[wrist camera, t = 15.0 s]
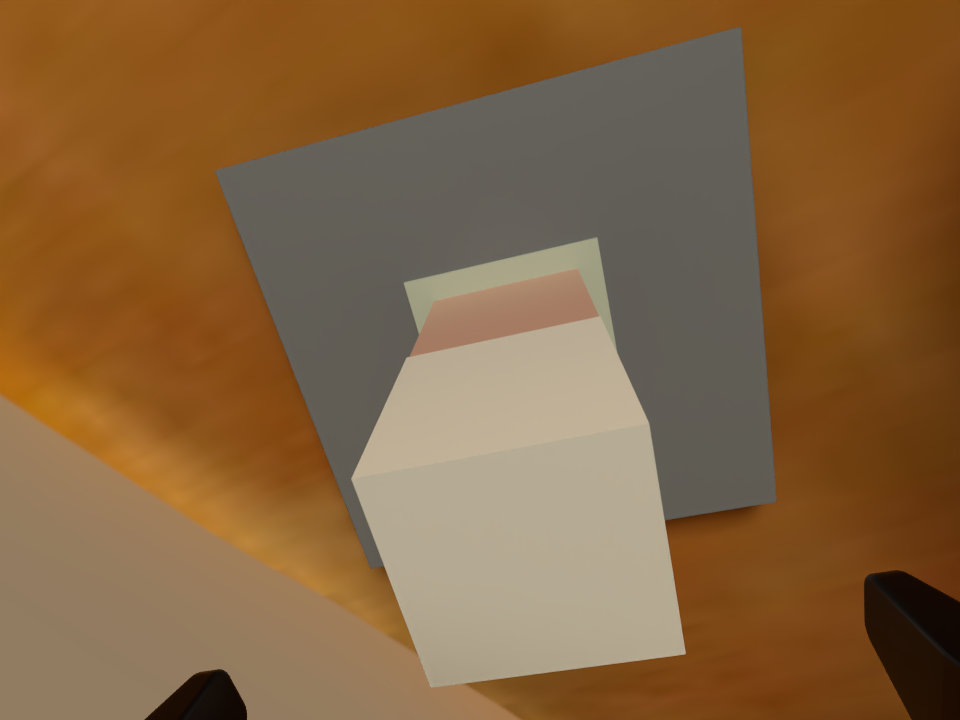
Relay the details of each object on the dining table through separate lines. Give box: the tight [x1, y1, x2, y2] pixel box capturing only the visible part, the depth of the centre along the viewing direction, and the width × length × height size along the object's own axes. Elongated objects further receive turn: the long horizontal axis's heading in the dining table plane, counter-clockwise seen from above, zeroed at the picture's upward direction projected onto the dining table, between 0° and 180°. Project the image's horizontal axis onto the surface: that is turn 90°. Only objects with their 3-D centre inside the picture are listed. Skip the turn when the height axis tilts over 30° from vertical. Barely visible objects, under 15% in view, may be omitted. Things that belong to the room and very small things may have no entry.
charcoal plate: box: [215, 27, 777, 568], centre depth 19 cm, size 15×15×2 cm
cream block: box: [351, 316, 686, 688], centre depth 12 cm, size 4×4×5 cm
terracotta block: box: [410, 268, 599, 357], centre depth 16 cm, size 4×4×5 cm
